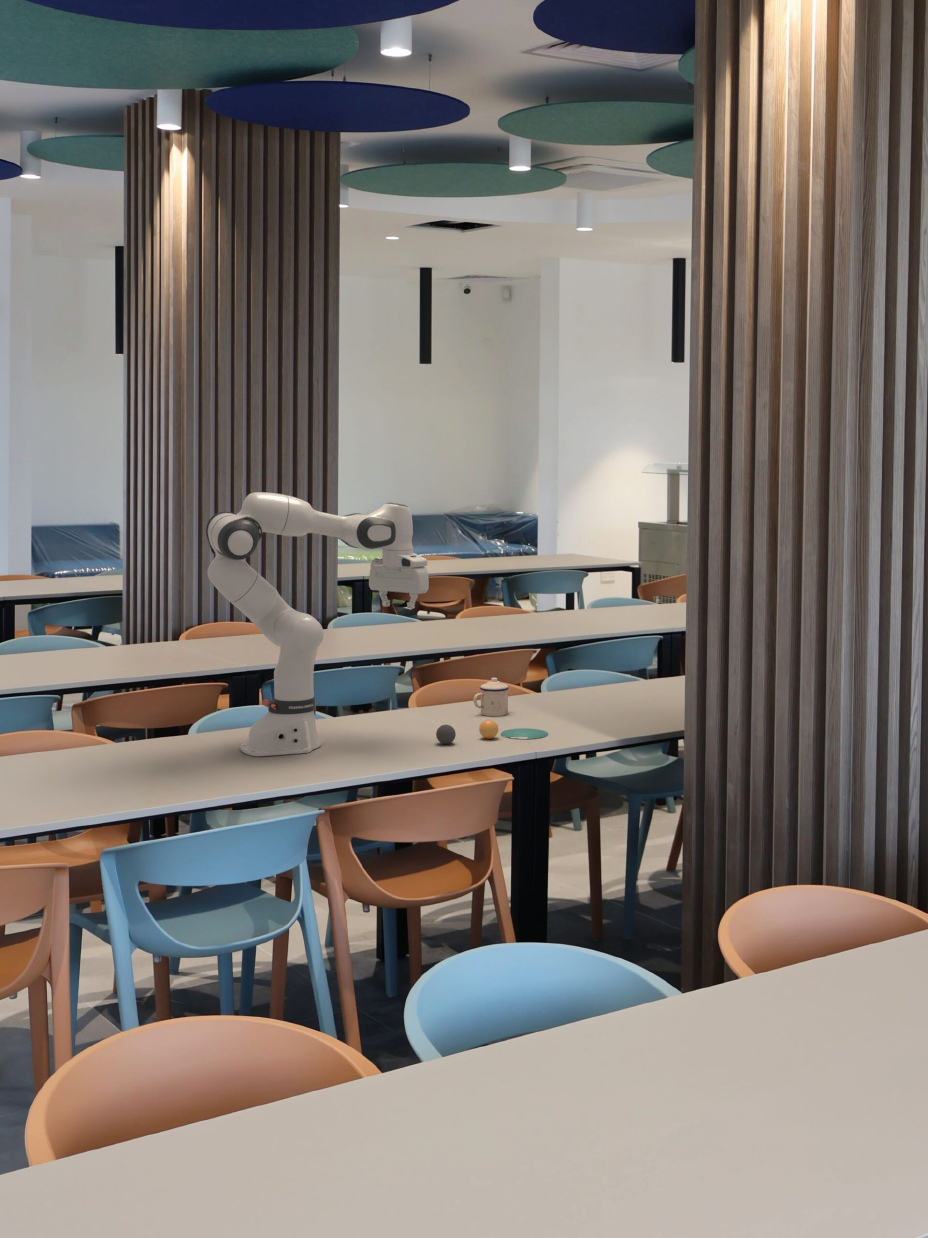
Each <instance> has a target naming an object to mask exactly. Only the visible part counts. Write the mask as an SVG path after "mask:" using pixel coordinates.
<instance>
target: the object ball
mask: <svg viewBox="0 0 928 1238" xmlns="http://www.w3.org/2000/svg"><path fill="white" fill-rule="evenodd" d="M478 731H479V734H480V735H481V737H483V738H484V739H486V738H487V740H490V739H493V738H495V737H496V736H497V735H498V733H499V725H498V723H497V722H496V721H495V720H493V719H486V720H483V721H482V722H481V723H480V725H479V728H478Z"/></svg>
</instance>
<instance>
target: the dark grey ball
mask: <svg viewBox="0 0 928 1238" xmlns="http://www.w3.org/2000/svg"><path fill="white" fill-rule="evenodd" d="M456 733H457V732H456V730H455V728H454V727H453V726H451V725H450V724H442V725H440V726H439V727H438V728H437V729H436V732H435V736H436V737H435V738H436V740H438V742H440V743H441V744H442V745H450V744H451V743H453V742H454V740H455V739H456V735H457V734H456Z"/></svg>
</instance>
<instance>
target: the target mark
mask: <svg viewBox="0 0 928 1238" xmlns="http://www.w3.org/2000/svg"><path fill="white" fill-rule="evenodd" d="M500 735H501V737H503V736H505V737H504V738H506V737H528V738H527V739H526V740H535V739H534V738H539V739H543V738H547V736H549V733H548V732H547V731H546V730H542V729H538V728H527V727H526V728H521V727H520V728H511V729H505V730H502V731H501V732H500ZM542 737H543V738H542Z"/></svg>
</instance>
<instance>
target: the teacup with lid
mask: <svg viewBox="0 0 928 1238" xmlns="http://www.w3.org/2000/svg"><path fill="white" fill-rule="evenodd" d="M479 689H480V692H478V693H476V694H475V695H474V696H473V703H474V706H475V707H476V708H477V709H480V714H481V715H482V716H485V717H493V718H494V717H496V718H497V717H504V716H506V715H508V713H509V685H508V684H506V683H503V682H502V681H500V680H498V678H497V677H491V679H490V680H489V681H487V682H485V683H484V684H481V685H480V687H479ZM479 696H480V705H479V704H478V702H477V701H478V700H477V699H478V697H479Z"/></svg>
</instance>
